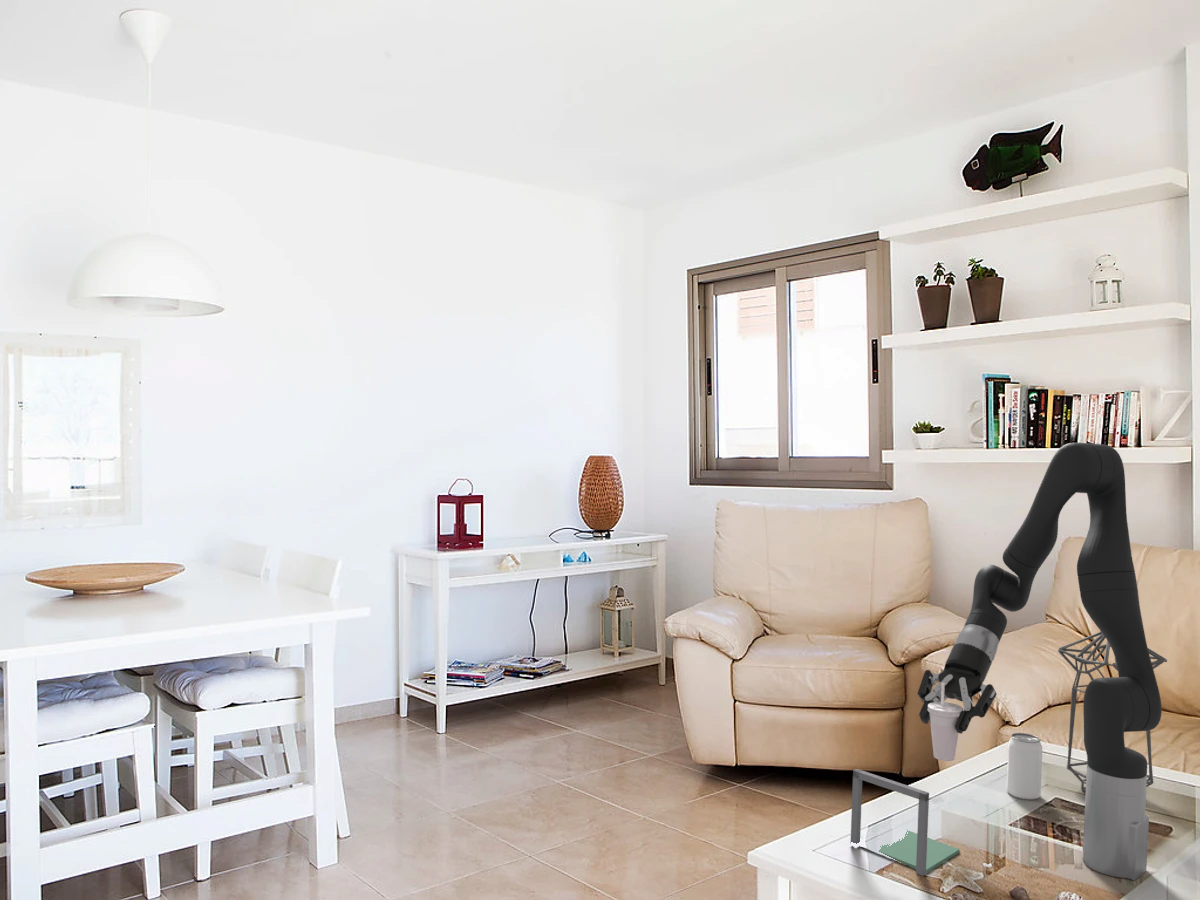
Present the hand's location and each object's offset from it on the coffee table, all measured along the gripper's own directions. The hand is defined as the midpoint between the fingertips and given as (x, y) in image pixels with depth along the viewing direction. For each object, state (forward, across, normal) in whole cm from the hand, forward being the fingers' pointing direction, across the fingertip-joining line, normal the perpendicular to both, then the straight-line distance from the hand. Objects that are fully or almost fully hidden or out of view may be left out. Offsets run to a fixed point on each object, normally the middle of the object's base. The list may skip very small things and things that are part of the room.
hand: (940, 725), depth 178 cm
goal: (+22, 0, +6) cm, 23 cm away
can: (-7, +3, +36) cm, 37 cm away
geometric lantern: (-17, +14, +46) cm, 51 cm away
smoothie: (+3, 0, +6) cm, 7 cm away
